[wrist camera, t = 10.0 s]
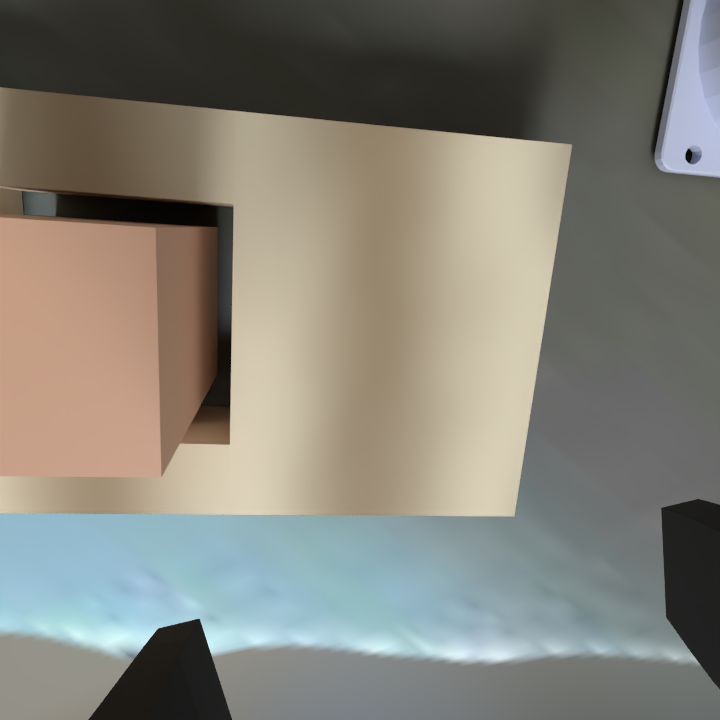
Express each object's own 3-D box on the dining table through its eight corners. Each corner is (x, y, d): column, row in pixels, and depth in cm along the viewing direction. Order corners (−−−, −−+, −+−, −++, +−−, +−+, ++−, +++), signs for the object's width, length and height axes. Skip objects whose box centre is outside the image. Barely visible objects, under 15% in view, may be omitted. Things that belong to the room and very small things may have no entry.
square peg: (217, 227, 15) (154, 228, 9) (217, 374, 16) (161, 477, 10) (55, 216, 15) (-148, 207, 8) (65, 369, 16) (-107, 474, 9)
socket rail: (522, 159, 16) (572, 144, 13) (479, 470, 18) (514, 516, 15) (-335, 78, 13) (-516, 35, 10) (-254, 456, 15) (-382, 510, 12)
